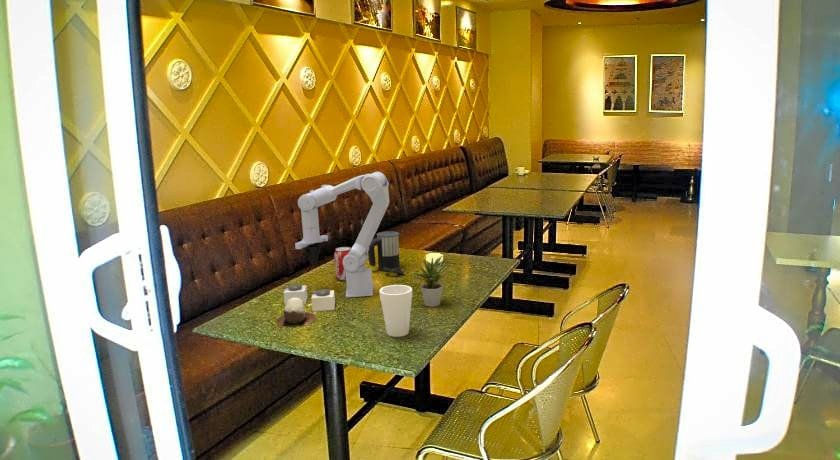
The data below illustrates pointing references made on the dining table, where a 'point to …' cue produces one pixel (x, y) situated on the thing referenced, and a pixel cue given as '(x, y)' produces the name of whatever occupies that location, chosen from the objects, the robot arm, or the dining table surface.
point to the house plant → (431, 282)
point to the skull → (295, 314)
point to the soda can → (340, 262)
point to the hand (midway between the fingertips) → (313, 264)
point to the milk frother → (386, 252)
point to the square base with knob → (296, 294)
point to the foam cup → (396, 309)
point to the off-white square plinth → (323, 302)
